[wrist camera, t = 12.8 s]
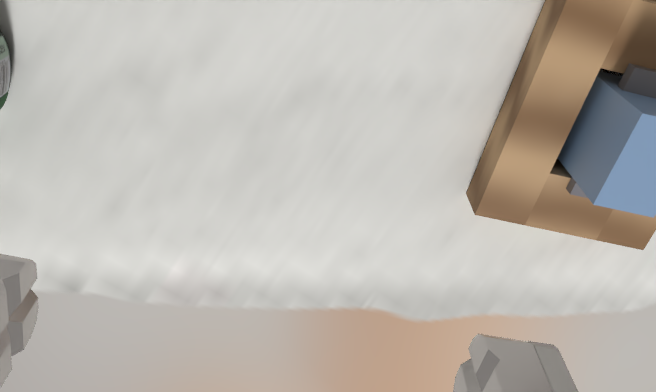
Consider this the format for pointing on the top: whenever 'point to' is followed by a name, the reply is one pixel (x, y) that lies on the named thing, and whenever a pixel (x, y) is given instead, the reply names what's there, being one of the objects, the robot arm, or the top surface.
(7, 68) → the coffee jar
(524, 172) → the wooden base block
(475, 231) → the top surface
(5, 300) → the robot arm
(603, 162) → the block
